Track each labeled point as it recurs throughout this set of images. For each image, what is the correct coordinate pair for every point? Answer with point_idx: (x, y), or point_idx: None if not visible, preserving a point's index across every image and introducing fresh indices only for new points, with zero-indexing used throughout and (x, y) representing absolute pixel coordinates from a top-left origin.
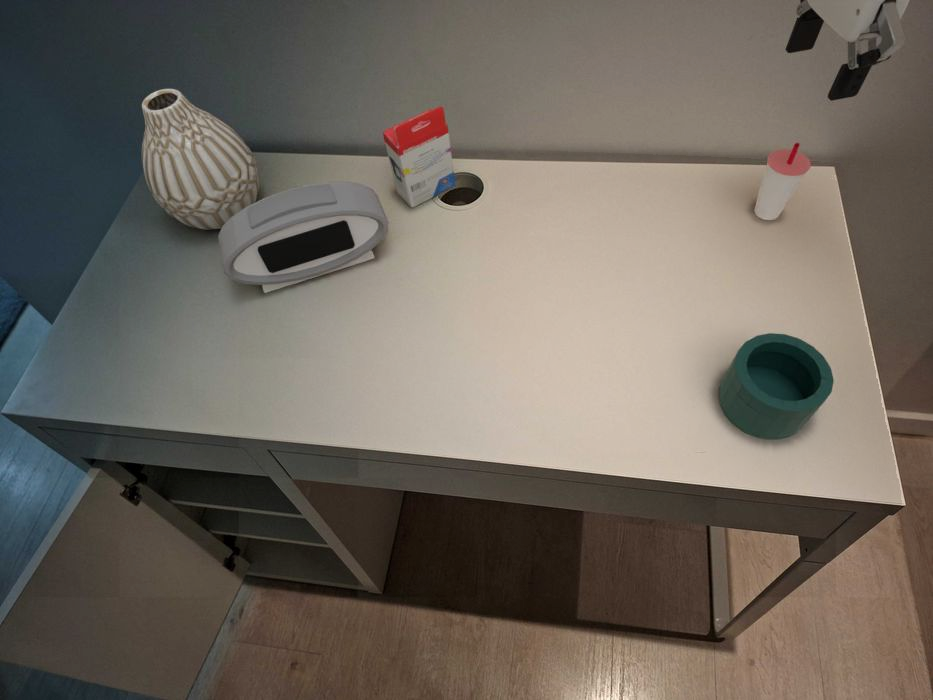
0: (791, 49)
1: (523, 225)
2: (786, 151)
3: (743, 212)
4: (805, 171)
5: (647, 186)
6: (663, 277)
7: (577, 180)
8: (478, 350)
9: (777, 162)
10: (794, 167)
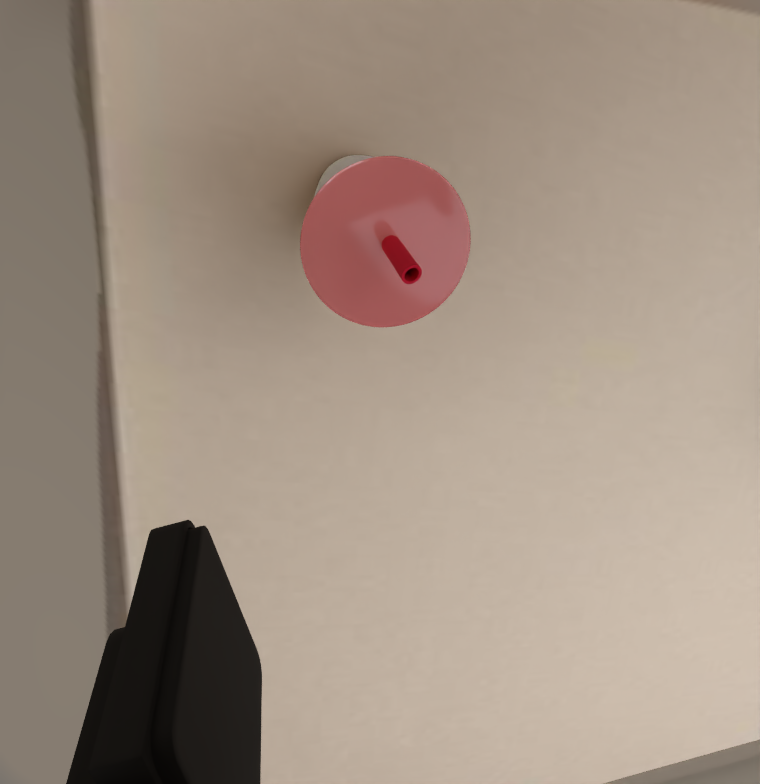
0: (256, 676)
1: (377, 757)
2: (316, 240)
3: None
4: (449, 192)
5: (234, 520)
6: (575, 497)
7: None
8: None
9: (384, 290)
10: (420, 230)
